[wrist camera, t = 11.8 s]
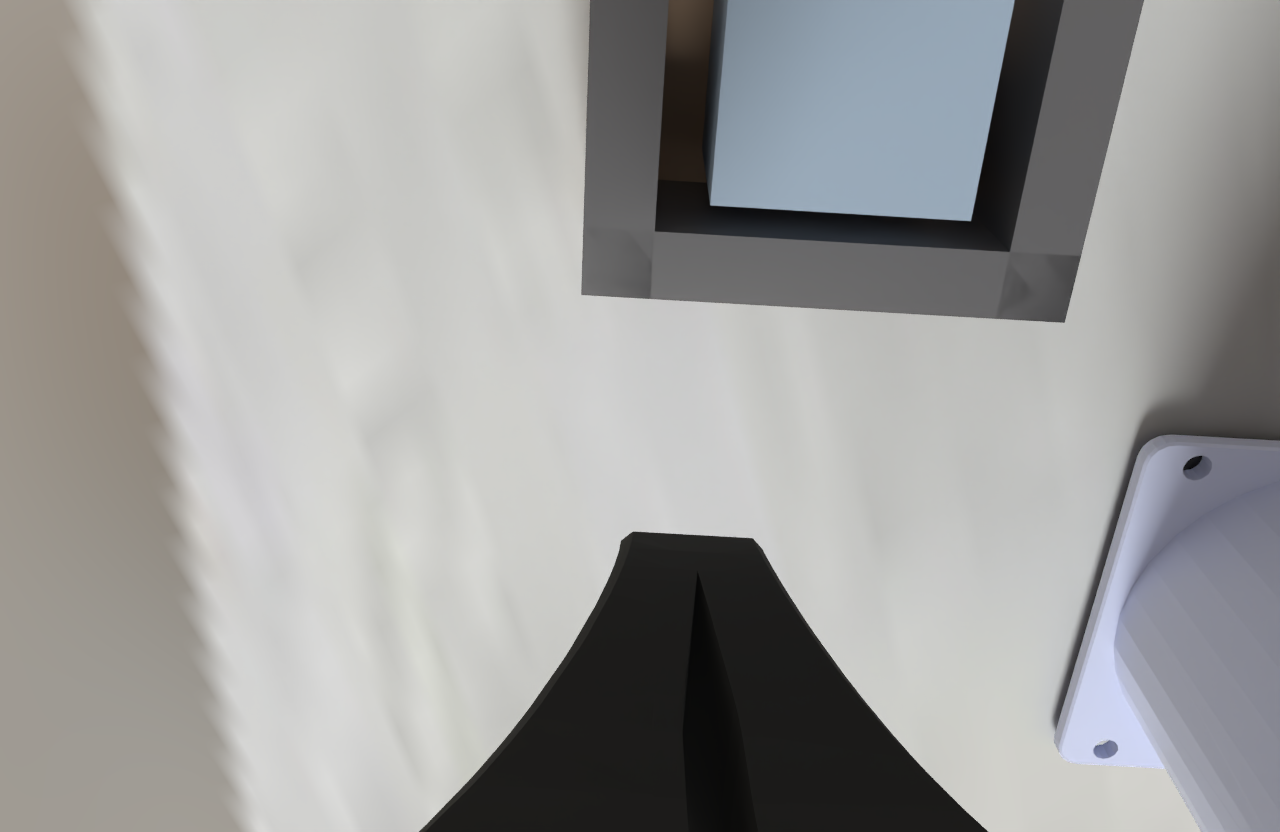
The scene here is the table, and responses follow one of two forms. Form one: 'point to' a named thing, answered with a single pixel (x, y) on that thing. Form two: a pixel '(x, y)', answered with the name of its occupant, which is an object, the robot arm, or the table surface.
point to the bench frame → (837, 242)
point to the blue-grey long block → (852, 104)
